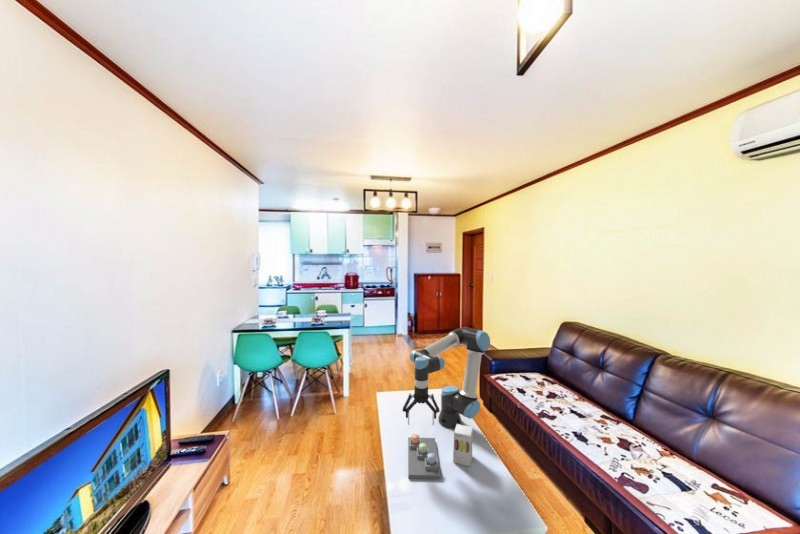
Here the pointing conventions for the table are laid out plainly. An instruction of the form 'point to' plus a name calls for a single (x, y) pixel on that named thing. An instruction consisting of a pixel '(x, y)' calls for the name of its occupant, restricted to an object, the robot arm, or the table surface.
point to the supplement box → (463, 445)
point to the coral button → (415, 439)
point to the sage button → (422, 448)
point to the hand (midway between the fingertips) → (420, 423)
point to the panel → (422, 460)
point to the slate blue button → (431, 458)
